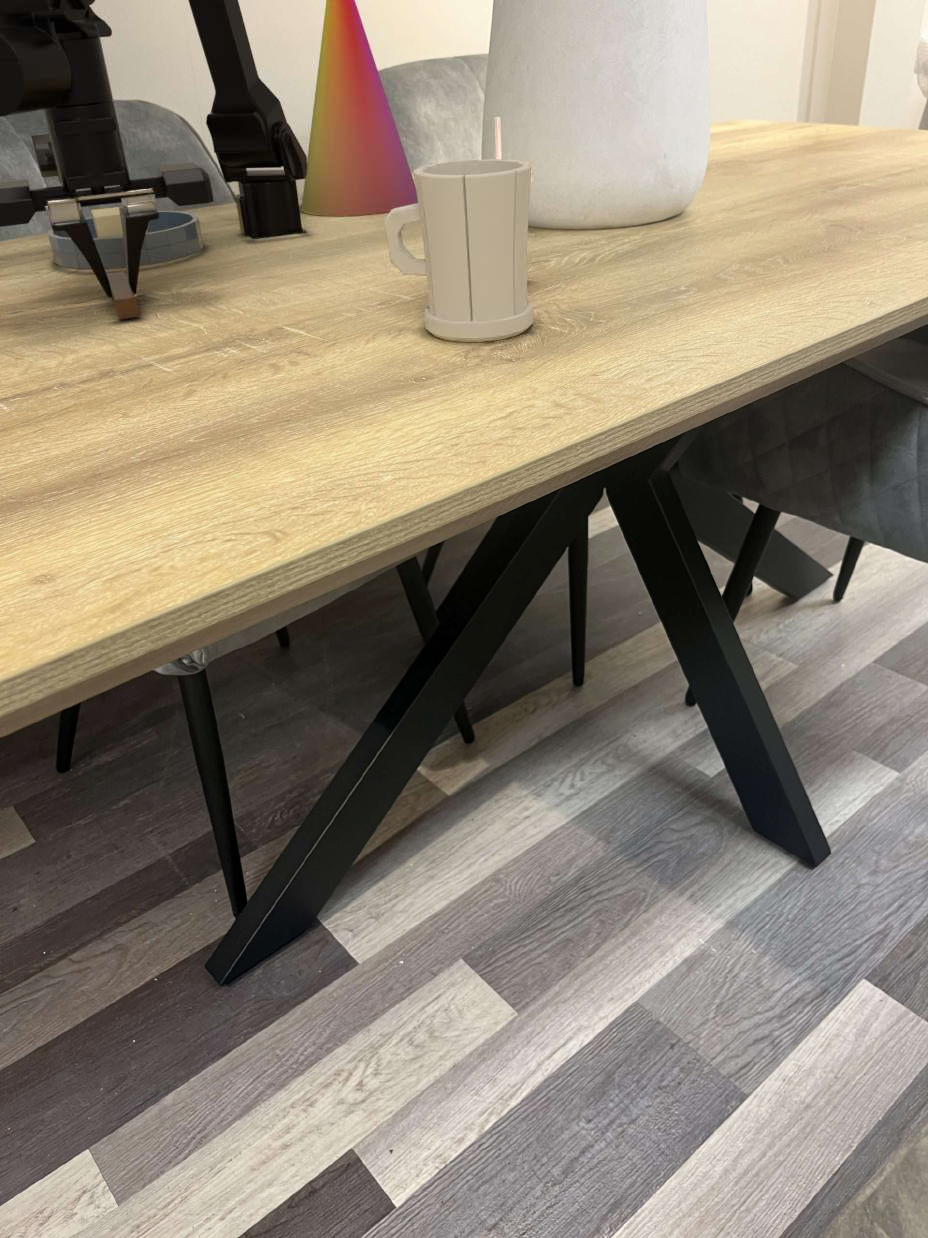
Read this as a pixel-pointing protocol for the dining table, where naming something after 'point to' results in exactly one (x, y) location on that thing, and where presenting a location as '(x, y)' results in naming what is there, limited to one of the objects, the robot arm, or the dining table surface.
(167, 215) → the bowl
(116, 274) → the stick
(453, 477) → the dining table surface
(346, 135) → the decorative cone
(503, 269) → the cup
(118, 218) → the block
